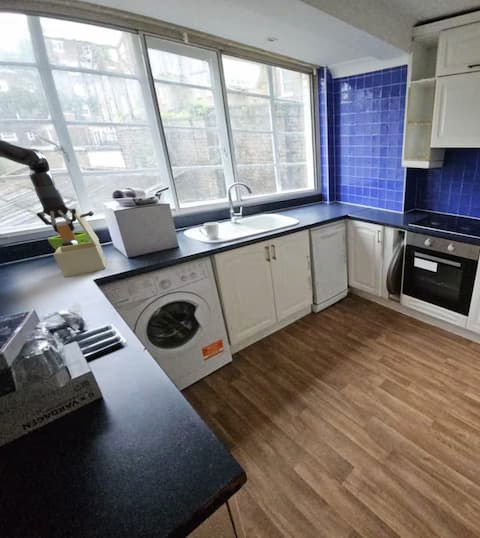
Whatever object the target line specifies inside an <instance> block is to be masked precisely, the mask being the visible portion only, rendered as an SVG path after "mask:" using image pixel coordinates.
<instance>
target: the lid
mask: <svg viewBox="0 0 480 538" xmlns="http://www.w3.org/2000/svg"><path fill="white" fill-rule="evenodd" d="M94 214H95V212H94V211H92V210H90V211H88V212H87V213H82V210H80V209H78V210H76V213H75V214H74V216H75V217H76V221H77V222H78V224H79V225H80V226H81V228H82V229H83V232H86V234H87V235H88V237H89V238H90V240H91V241H92V243H93V244H94V246H97V244H98V241H99V240H100V239H99V237H98V236H97V234H96V232H95V230H93V228H92V226H91V225H90V223H89V222H88V221H87V219H86V217H93V216H94ZM99 242H100V241H99Z"/></svg>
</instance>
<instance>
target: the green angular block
mask: <svg viewBox="0 0 480 538" xmlns="http://www.w3.org/2000/svg"><path fill="white" fill-rule="evenodd" d="M73 232H74V235H75V237H76V239H75V241H77V243H78V244H82V243H88V242H92V241H91V240H90V238H89V237H88V235H87V234H86V232H85V231H73ZM47 241H48V243H49V244H50V246H51V247H52V248H53V249H55V251H56V250H57V249H58V248H59V247H63V246H62V243H63V240H62V238H61V236H60V234H59V235H56V236H52V237H49V238H47Z"/></svg>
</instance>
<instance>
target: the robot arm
mask: <svg viewBox="0 0 480 538" xmlns="http://www.w3.org/2000/svg"><path fill="white" fill-rule="evenodd" d="M0 158H2V159H7V160H8V161H11V162H15V163H17V164H20V165H22V166H23V165H24V166H28V168H29V171H30V173H29V175H28V176H29V179H30V181H31V184H32V186H33V188H34V191H35V193H36V196H37V198H38V201H39V202H40V204H41V206H42V211H39V212H37V213H36V216H37V217H38V218H39V219H40V220H41V221H42V222H43V223H44V224H45V225H46V226H52V228H53V230H54V232H55V233H57V234H59V232H58V229H57V227H56V226H57V225H56V223H57V219H58V218H63V219H64V221H67V222H68V225H69V227H70V229H71V231H73V232H75V231H74V230H75V225H74V224H73V223H74V222H77V219H76V217H75V216H74V214H75V213H76V212H77V209H76V208H75V207H74V208H69V207H68V206H66V204H65V201H64V199H63V196H62V194H61V192H60V190H59V188H58V186H57V185H56V183H55V181H54V177H53V176H52V173H51V168H50V164H49V160H48V158H47V156H46V155H45V153H43V152H42V151H40V150H39V149H37V148H26V147H21V146H19V145H15V144H12V143H11V142H8V141H6V140H3V139H0ZM68 212H69V213H70V214H71V218H70V217H69V216H68ZM46 215H48V216H49V217H50V221H49V219H48V218H46V217H45V216H46Z"/></svg>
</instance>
